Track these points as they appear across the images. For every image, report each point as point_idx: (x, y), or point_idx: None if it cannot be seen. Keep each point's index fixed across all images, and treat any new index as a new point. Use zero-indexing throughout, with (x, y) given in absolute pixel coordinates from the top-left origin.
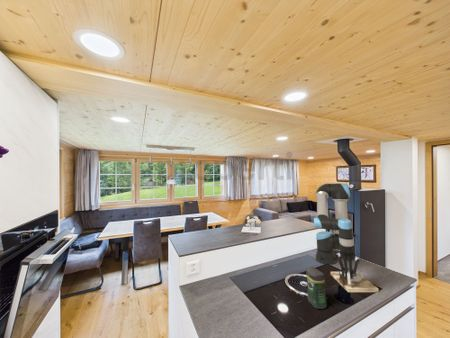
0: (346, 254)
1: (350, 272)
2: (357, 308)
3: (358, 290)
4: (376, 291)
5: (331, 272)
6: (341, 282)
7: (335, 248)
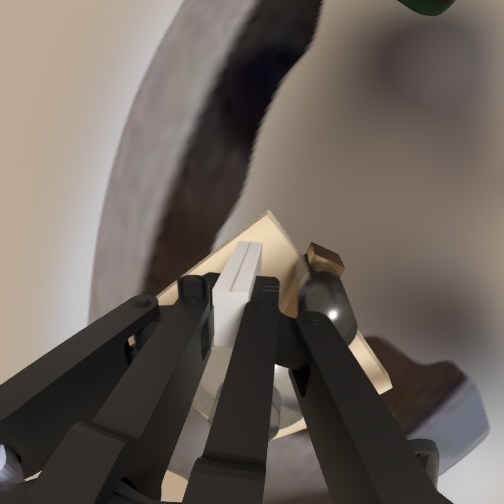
0: None
1: (194, 300)
2: (191, 50)
3: (202, 261)
4: None
5: (388, 382)
6: (320, 249)
7: None
